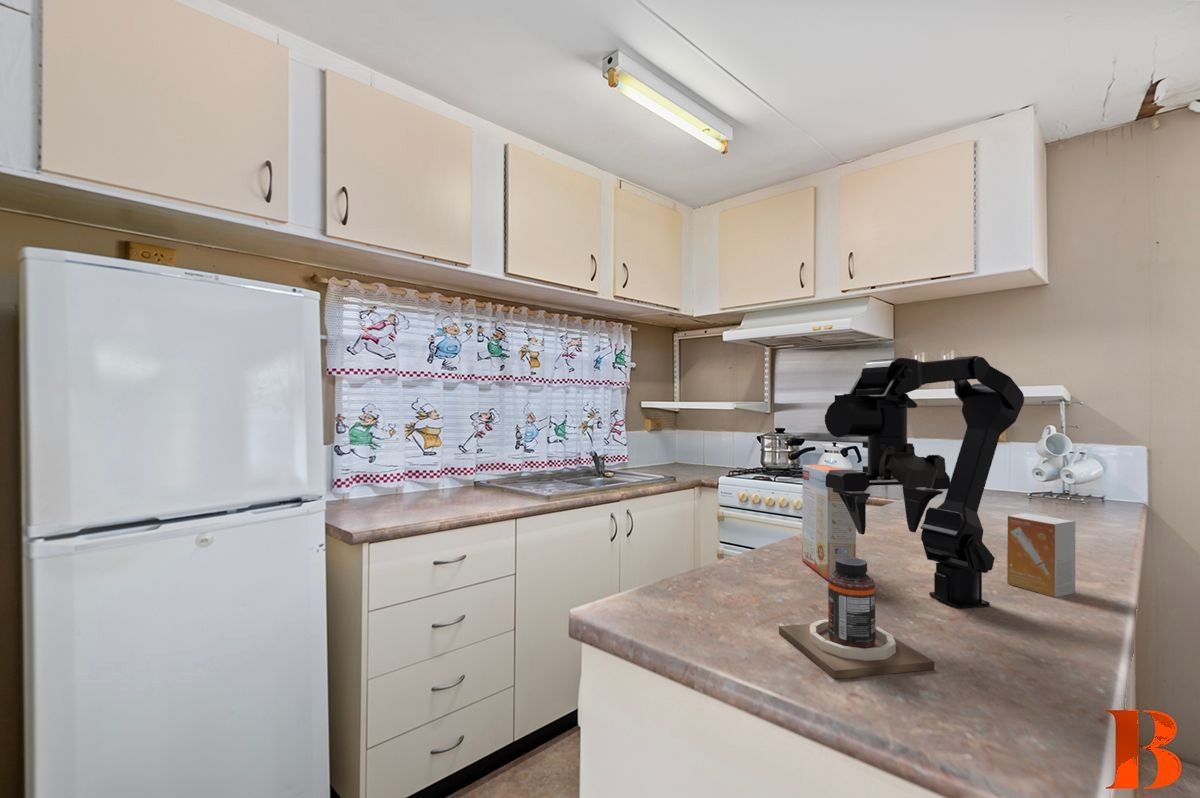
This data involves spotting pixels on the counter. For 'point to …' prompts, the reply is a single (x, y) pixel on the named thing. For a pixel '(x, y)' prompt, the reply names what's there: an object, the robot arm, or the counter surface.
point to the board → (846, 667)
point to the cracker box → (824, 522)
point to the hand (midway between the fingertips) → (887, 533)
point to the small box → (1041, 554)
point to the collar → (853, 652)
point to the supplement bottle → (851, 604)
